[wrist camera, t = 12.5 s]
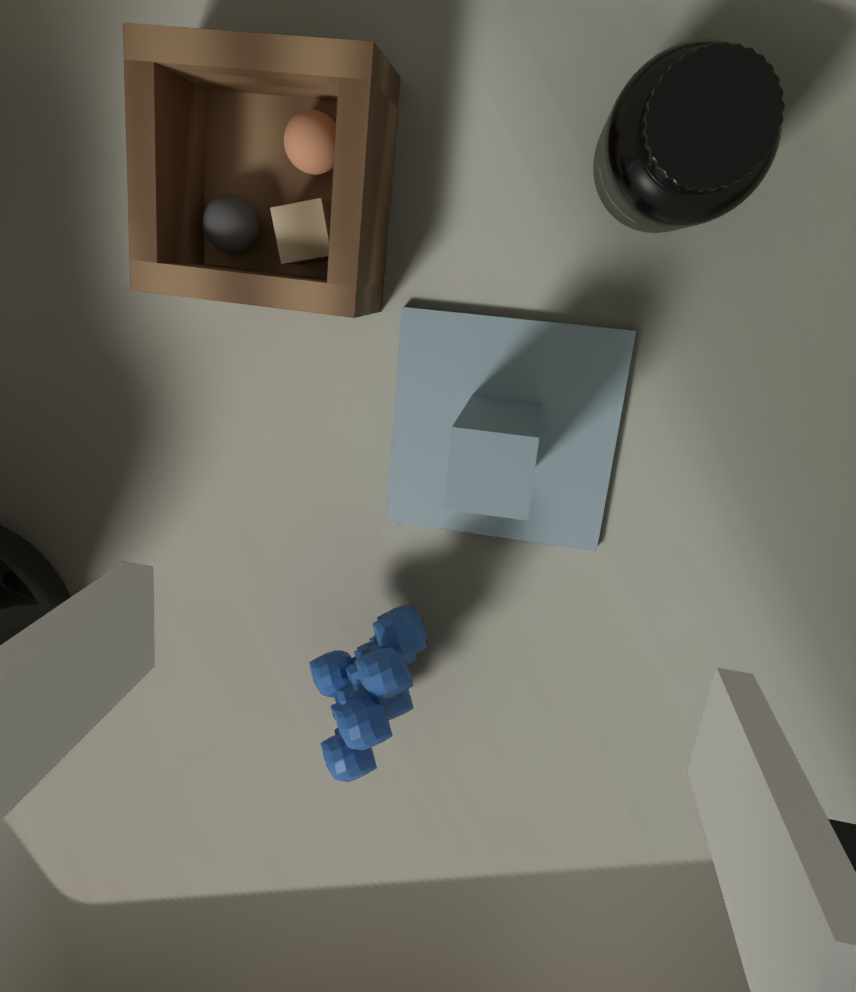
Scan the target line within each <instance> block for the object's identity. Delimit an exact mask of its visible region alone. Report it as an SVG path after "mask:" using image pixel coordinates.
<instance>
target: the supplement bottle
mask: <svg viewBox="0 0 856 992" xmlns="http://www.w3.org/2000/svg"><path fill="white" fill-rule="evenodd" d="M782 96H783V90H782V88H781V87H780V86H779V77H778V76H777V75H776V74H775V73H774V70H773V66H772V65H771V64H769V63H767V62H766V60H765V58H764V56H763V55H761V54H757V53H756V52H755V50H754V49H753V48H745V47H743V46H742V45H741V44H731V43H728V42H724V41H719V40H695V41H689V42H685V43H681V44H678V45H675V46H673V47H671V48H668V49H666V50H664V51H662V52H661V53H659V54H657V55H656V56H654V57H653V58H652V59H650V60H649V61H648V62H646V63H645V64H644V65H643V66H642V67H641V68H640V69H639V70H638V71H637V72H636V73H635V74H634V75H633V76H632V78H631V79H630V80H629V81H628V83H627V84H626V85H625V87H624V88H623V90H622V91H621V93H620V95H619V97H618V98H617V100H616V102H615V104H614V106H613V109H612V111H611V113H610V115H609V117H608V119H607V121H606V124H605V126H604V128H603V130H602V132H601V135H600V137H599V140H598V143H597V147H596V151H595V156H594V180H595V185H596V189H597V192H598V195H599V197H600V199H601V201H602V203H603V205H604V206H605V208H606V209H607V210H608V211H609V213H610V214H611V215H612V216H613V217H614V218H615V219H617V220H618V221H619V222H621V223H622V224H624V225H626V226H628V227H630V228H632V229H635V230H638V231H642V232H650V233H660V232H669V231H674V230H678V229H682V228H686V227H690V226H694V225H698V224H702V223H705V222H708V221H711V220H714V219H716V218H718V217H720V216H722V215H724V214H726V213H728V212H729V211H731V210H732V209H734V208H735V207H737V206H738V205H739V204H741V203H742V202H743V201H744V200H745V199H746V198H748V197H749V196H750V195H751V194H752V192H753V191H754V190H755V189H756V188H757V187H758V185H759V184H760V183H761V182H762V180H763V178H764V177H765V175H766V174H767V172H768V170H769V168H770V167H771V164H772V162H773V160H774V158H775V155H776V152H777V149H778V145H779V141H780V137H781V130H782V122H783V116H782V112H783V109H784V106H785V105H784V102H783V100H782Z"/></svg>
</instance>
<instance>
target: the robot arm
mask: <svg viewBox="0 0 856 992" xmlns="http://www.w3.org/2000/svg"><path fill="white" fill-rule="evenodd" d="M154 666H155V655H154V582H153V567H152V566H147V565H141V564H136V563H130V562H124V561H123V562H122V563H120V564H119V565H117V566H116V567H115V568H113V569H112V570H110V571H109V572H107V573H106V574H104V575H103V576H101V577H100V578H98V579H97V580H95V581H94V582H93V583H91V584H90V585H88V586H87V587H85V588H84V589H82V590H81V591H79V592H78V593H76V594H75V595H74V596H72V597H71V598H69V596H68V594H67V591H66V589H65V588H64V586H63V584H62V582H61V580H60V579H59V577H58V576H57V574H56V573H55V572H54V570H53V569H52V568H51V566H50V565H49V564H48V563H47V561H46V560H45V559H44V558H43V557H42V556H41V555H40V554H39V553H38V552H37V551H36V550H35V549H34V548H32V547H31V546H30V545H29V544H28V543H26V542H25V541H24V540H22V539H21V538H19V537H18V536H16V535H15V534H13V533H11V532H10V531H8V530H6V529H4V528H2V527H0V821H1V820H2V819H3V818H4V817H5V816H6V815H7V814H8V813H9V812H10V811H11V810H12V809H13V808H14V807H15V806H16V805H17V804H18V803H19V802H20V801H21V800H22V799H23V798H24V797H25V796H26V795H27V794H28V793H29V792H30V791H31V790H32V789H33V788H34V787H35V786H36V785H37V784H38V783H39V782H40V781H41V780H42V779H43V778H44V777H45V776H46V775H47V774H48V773H49V772H50V771H51V770H52V769H53V768H54V767H55V766H56V765H57V764H58V763H59V762H60V761H61V760H62V759H63V758H64V757H65V756H66V755H67V754H68V753H69V752H70V751H71V750H72V749H73V748H74V747H75V746H76V745H77V744H78V743H79V742H80V741H81V740H82V739H83V738H84V737H85V736H86V735H87V734H88V733H89V732H90V731H91V730H92V729H93V728H94V727H95V726H96V725H97V724H98V723H99V722H100V721H101V720H102V718H103V717H104V716H105V715H106V714H107V713H108V712H109V711H110V710H111V709H112V708H113V707H114V706H115V705H116V704H117V703H118V702H119V701H120V700H121V699H122V698H123V697H124V696H125V695H126V694H127V693H128V692H129V691H130V690H131V689H132V688H133V687H134V686H135V685H136V684H137V683H138V682H139V681H140V680H141V679H142V678H143V677H144V676H145V675H146V674H147V673H148V672H149V671H150V670H151V669H152V668H153V667H154ZM687 771H688V775H689V778H690V782H691V785H692V789H693V792H694V796H695V799H696V803H697V806H698V810H699V813H700V817H701V820H702V824H703V827H704V831H705V834H706V838H707V841H708V845H709V848H710V852H711V855H712V859H713V862H714V866H715V869H716V873H717V876H718V880H719V883H720V886H721V890H722V893H723V897H724V901H725V904H726V908H727V911H728V915H729V918H730V921H731V925H732V929H733V932H734V936H735V939H736V942H737V946H738V949H739V953H740V956H741V960H742V963H743V967H744V970H745V974H746V977H747V981H748V984H749V987H750V991H751V992H856V824H851V823H846V822H841V821H836V820H831V819H828V818H827V816H826V814H825V812H824V810H823V808H822V806H821V805H820V803H819V801H818V799H817V797H816V795H815V793H814V791H813V789H812V787H811V785H810V783H809V781H808V779H807V778H806V776H805V774H804V772H803V770H802V768H801V766H800V764H799V762H798V760H797V758H796V756H795V754H794V753H793V751H792V749H791V747H790V745H789V743H788V741H787V739H786V737H785V735H784V733H783V731H782V729H781V727H780V726H779V724H778V722H777V720H776V718H775V716H774V714H773V712H772V710H771V708H770V706H769V704H768V702H767V700H766V699H765V697H764V695H763V693H762V691H761V689H760V687H759V685H758V683H757V681H756V679H755V677H754V675H753V674H750V673H744V672H738V671H733V670H727V669H722V668H716V671H715V675H714V678H713V682H712V685H711V689H710V692H709V696H708V699H707V703H706V707H705V710H704V714H703V717H702V721H701V724H700V728H699V731H698V735H697V738H696V742H695V745H694V749H693V753H692V756H691V760H690V763H689V767H688V770H687Z"/></svg>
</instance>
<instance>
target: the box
mask: <svg viewBox="0 0 856 992" xmlns="http://www.w3.org/2000/svg"><path fill="white" fill-rule="evenodd" d="M123 42H124V77H125V112H126V147H127V182H128V218H129V253H130V288H131V290H135V291H143V292H151V293H159V294H167V295H175V296H183V297H191V298H199V299H207V300H215V301H223V302H231V303H239V304H247V305H255V306H264V307H272V308H280V309H288V310H296V311H304V312H312V313H320V314H328V315H336V316H344V317H352V318H355V317H360V316H364V315H368V314H373V313H377V312H381V308H382V295H383V283H384V271H385V259H386V247H387V235H388V223H389V211H390V198H391V186H392V174H393V162H394V150H395V138H396V126H397V114H398V101H399V89H400V76H399V74H398V73H397V72H396V70H395V69H394V68H393V66H392V65H391V64H390V62H389V61H388V60H387V59H386V57H385V56H384V55H383V53H382V52H381V51H380V49H379V48H378V47H377V45H376V44H375V43H374V41H361V40H347V39H334V38H321V37H307V36H294V35H281V34H267V33H254V32H240V31H227V30H214V29H200V28H187V27H173V26H160V25H147V24H133V23H123ZM304 110H318V111H321V112H323V113H325V114H327V115H328V116H329V117H330V118H331V119H332V120H333V121H334V122H335V123H336V135H335V152H334V167H333V168H332V169H331V170H329V171H327V172H325V173H322V174H317V175H315V174H308V173H305V172H303V171H301V170H299V169H298V168H297V167H295V166H294V165H293V164H292V162H291V161H290V159H289V158H288V156H287V154H286V151H285V147H284V132H285V129H286V126H287V124H288V122H289V121H290V120H291V118H292V117H293V116H295V115H296V114H297V113H299V112H301V111H304ZM227 194H228V195H236V196H239V197H241V198H243V199H245V200H246V201H247V202H248V203H250V204H251V206H252V207H253V208H254V210H255V211H256V213H257V216H258V219H259V224H260V229H259V235H258V238H257V240H256V241H255V243H254V244H253V245H252V247H250V248H249V249H248V250H246V251H244V252H241V253H227V252H224V251H221V250H219V249H218V248H216V247H215V246H214V245H213V244H212V243H211V242H210V241H209V240H208V238H207V236H206V234H205V232H204V229H203V214H204V211H205V208H206V207H207V205H208V204H209V203H210V202H211V201H212V200H213V199H214V198H216V197H218V196H221V195H227ZM318 198H323V199H326V200H329V201H332V204H331V221H330V239H329V256H328V260H322V261H316V262H311V263H305V264H299V265H298V264H281V260H280V255H279V250H278V245H277V240H276V235H275V230H274V225H273V220H272V215H271V210H270V208H271V207H277V206H282V205H287V204H292V203H297V202H302V201H308V200H313V199H318Z"/></svg>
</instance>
